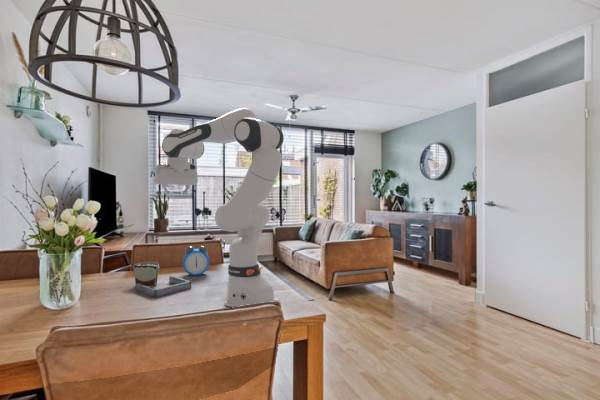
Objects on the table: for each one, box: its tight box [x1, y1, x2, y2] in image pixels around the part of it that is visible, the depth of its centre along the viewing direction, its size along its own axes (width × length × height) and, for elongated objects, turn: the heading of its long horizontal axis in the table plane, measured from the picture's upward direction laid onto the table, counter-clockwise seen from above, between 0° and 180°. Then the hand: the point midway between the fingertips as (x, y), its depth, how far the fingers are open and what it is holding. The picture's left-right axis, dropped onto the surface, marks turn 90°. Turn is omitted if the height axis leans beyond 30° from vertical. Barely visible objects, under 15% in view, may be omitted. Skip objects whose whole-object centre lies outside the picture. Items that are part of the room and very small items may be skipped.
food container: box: [132, 261, 161, 288], centre depth 148 cm, size 12×6×10 cm, turn 84°
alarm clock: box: [182, 245, 210, 277], centre depth 166 cm, size 13×6×15 cm, turn 108°
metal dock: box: [135, 275, 192, 299], centre depth 141 cm, size 16×17×3 cm
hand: (176, 194), depth 149 cm, fingers open, 8 cm apart
